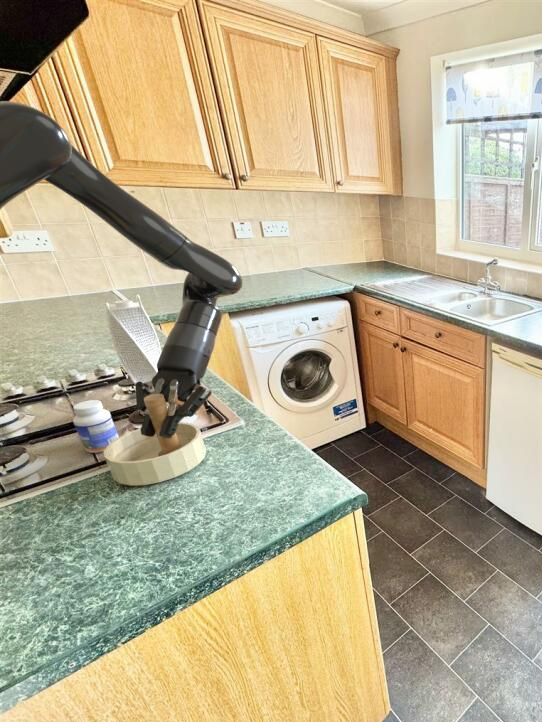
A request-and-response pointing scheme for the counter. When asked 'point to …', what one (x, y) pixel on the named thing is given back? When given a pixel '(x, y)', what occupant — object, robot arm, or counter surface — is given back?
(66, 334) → the counter surface
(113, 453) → the bowl
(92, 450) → the pill bottle
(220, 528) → the counter surface
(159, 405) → the tan cylinder
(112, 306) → the skyscraper
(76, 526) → the counter surface
